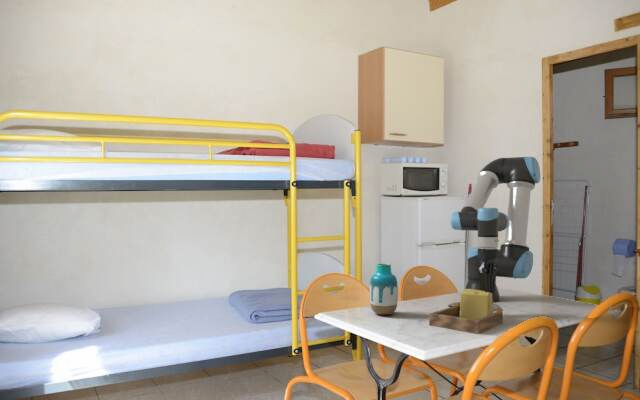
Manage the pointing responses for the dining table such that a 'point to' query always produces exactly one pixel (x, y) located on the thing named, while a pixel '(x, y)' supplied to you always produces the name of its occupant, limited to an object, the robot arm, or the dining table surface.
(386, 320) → the dining table surface
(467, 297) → the cheese
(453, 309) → the bay
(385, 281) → the vase
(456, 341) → the dining table surface
